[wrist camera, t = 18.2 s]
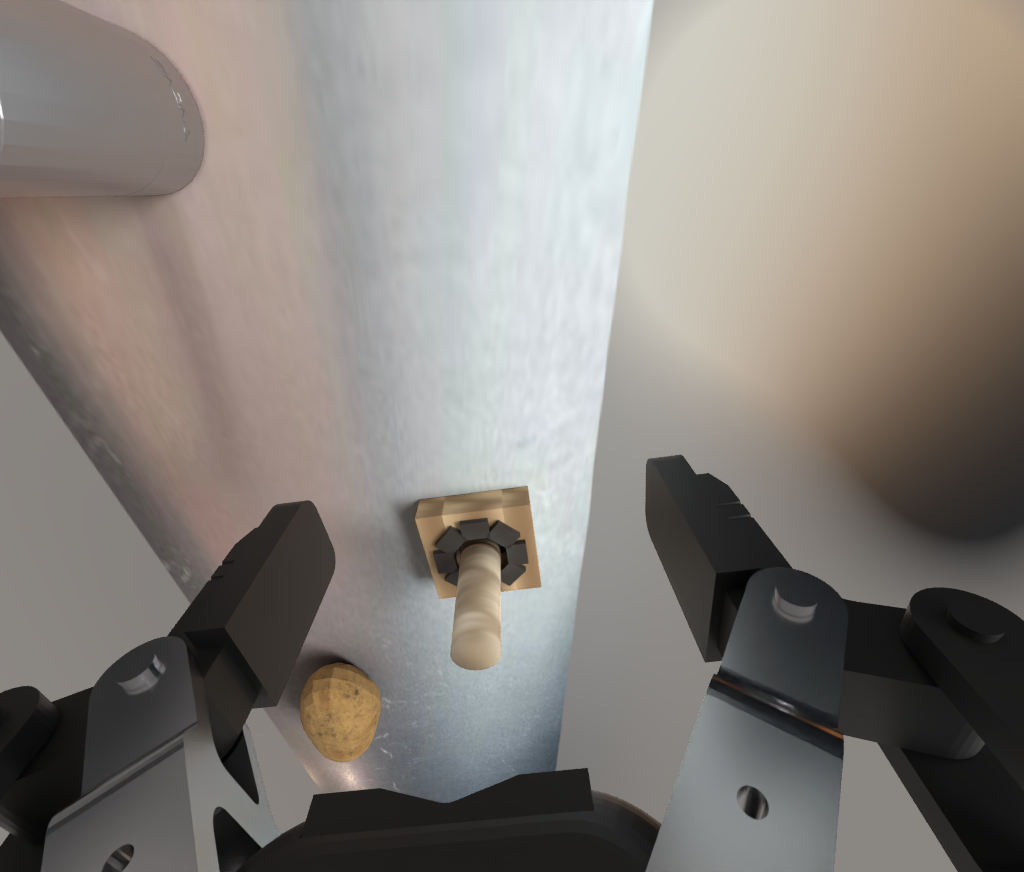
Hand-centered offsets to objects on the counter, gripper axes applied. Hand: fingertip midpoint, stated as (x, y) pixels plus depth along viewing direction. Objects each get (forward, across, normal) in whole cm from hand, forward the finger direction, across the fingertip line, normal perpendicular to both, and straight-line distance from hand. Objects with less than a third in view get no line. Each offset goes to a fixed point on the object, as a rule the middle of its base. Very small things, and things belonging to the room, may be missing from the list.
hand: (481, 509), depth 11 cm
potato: (+28, +26, +46) cm, 60 cm away
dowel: (+28, +5, +25) cm, 38 cm away
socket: (+28, +5, +25) cm, 38 cm away
